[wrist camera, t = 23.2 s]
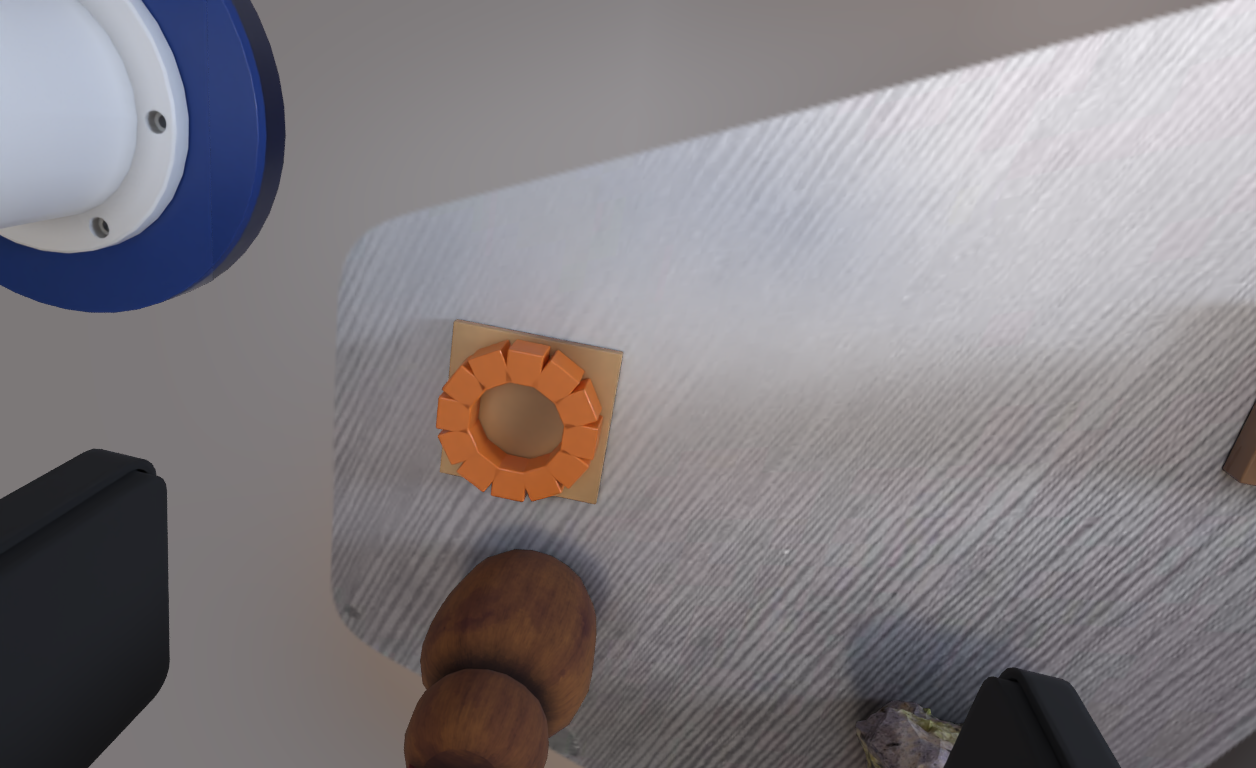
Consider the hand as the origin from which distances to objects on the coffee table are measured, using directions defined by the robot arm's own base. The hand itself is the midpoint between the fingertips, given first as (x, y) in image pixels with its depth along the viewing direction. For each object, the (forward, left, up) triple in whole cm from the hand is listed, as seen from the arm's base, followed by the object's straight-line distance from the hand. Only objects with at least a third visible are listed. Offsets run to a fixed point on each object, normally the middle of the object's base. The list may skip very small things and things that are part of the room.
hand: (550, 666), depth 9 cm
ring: (-5, -8, -23) cm, 25 cm away
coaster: (-5, -8, -23) cm, 25 cm away
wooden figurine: (-3, -16, -23) cm, 29 cm away
